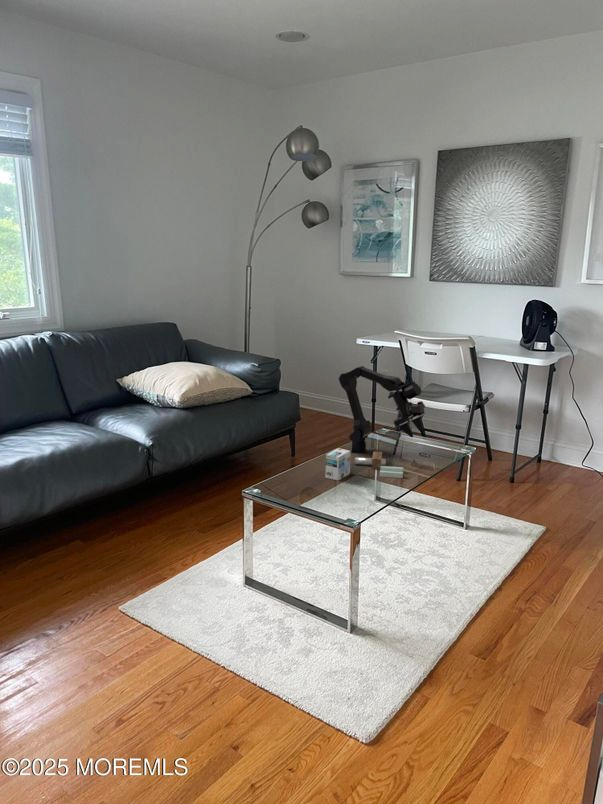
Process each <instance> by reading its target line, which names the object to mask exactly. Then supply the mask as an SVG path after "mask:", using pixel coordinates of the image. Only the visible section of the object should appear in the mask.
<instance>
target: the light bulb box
mask: <svg viewBox="0 0 603 804" xmlns="http://www.w3.org/2000/svg"><path fill="white" fill-rule="evenodd" d="M351 453H352V452H351V450H348V449H344V448H340V447H338V448H336V449H333V450H332V451H330V452H327V453H326V454H325V478H327V479H330V480H334V481H340V480H342V479H343V478H345V477H347V476H349V475H350V474H351Z"/></svg>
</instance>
